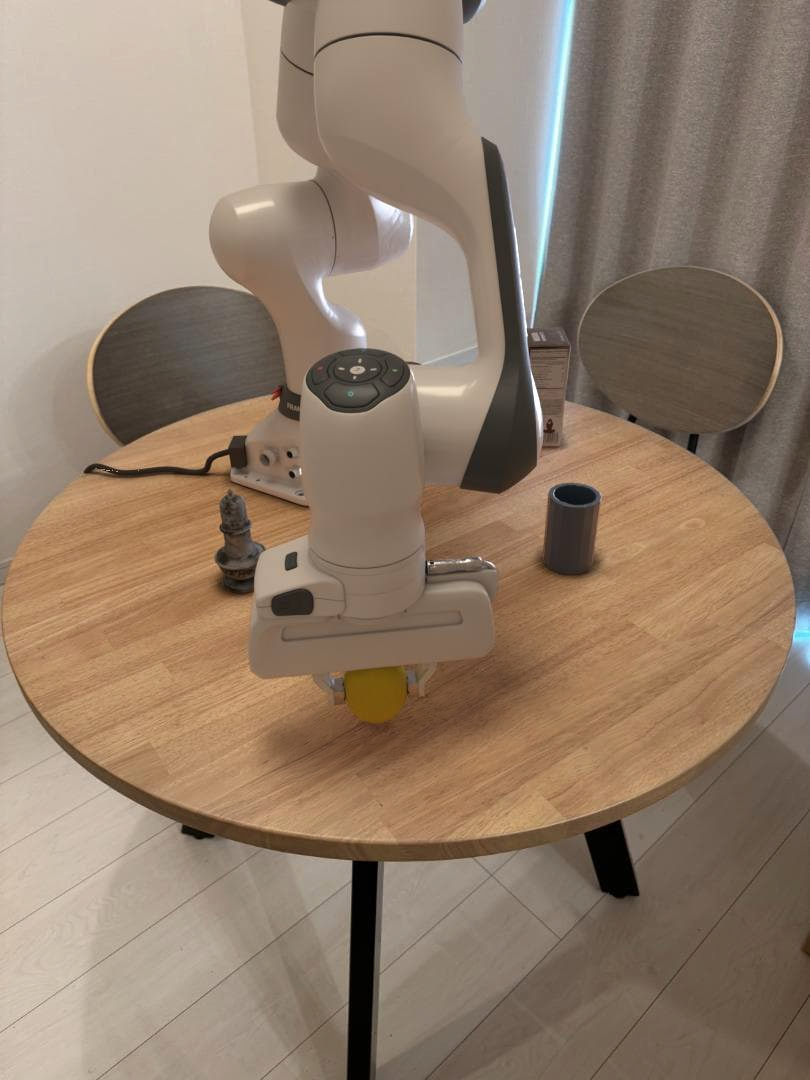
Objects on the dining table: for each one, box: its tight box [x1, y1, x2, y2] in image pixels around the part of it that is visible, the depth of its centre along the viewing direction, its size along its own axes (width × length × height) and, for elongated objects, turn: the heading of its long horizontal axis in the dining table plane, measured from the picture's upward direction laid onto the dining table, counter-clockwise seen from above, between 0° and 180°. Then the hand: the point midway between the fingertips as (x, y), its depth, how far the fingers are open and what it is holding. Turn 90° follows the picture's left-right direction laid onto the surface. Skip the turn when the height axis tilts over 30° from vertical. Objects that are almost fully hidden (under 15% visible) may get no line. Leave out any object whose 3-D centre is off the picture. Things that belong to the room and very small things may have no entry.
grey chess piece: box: [213, 488, 267, 594], centre depth 82 cm, size 6×6×12 cm
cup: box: [542, 482, 603, 576], centre depth 85 cm, size 6×6×9 cm
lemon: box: [343, 665, 407, 724], centre depth 64 cm, size 6×6×8 cm
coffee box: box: [526, 326, 572, 447], centre depth 114 cm, size 9×6×16 cm
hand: (375, 696), depth 65 cm, fingers closed on lemon, 5 cm apart
